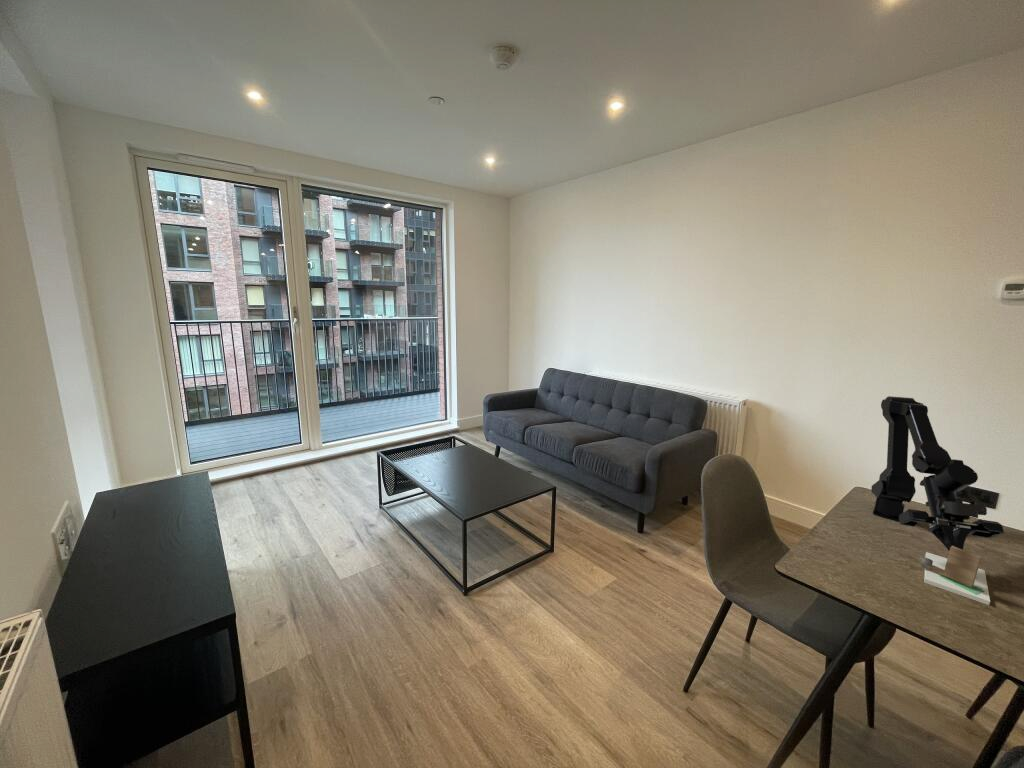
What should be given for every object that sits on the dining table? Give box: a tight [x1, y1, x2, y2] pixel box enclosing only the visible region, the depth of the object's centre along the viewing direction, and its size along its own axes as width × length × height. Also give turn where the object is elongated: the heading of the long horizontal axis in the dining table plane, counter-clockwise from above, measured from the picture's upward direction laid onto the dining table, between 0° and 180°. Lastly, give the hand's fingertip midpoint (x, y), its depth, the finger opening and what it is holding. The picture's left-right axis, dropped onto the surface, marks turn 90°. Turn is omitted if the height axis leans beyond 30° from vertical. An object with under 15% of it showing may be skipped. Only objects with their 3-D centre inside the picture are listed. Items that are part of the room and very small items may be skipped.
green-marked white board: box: [923, 551, 991, 606], centre depth 105 cm, size 11×16×1 cm
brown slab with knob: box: [920, 546, 985, 592], centre depth 102 cm, size 12×2×8 cm, turn 27°
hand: (958, 557), depth 103 cm, fingers closed
